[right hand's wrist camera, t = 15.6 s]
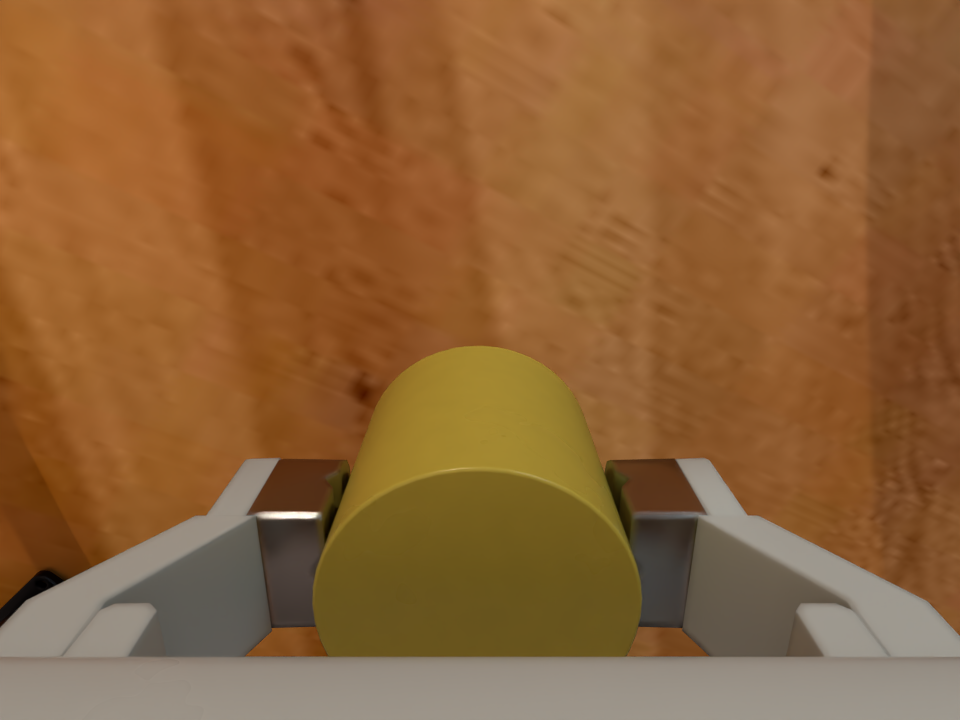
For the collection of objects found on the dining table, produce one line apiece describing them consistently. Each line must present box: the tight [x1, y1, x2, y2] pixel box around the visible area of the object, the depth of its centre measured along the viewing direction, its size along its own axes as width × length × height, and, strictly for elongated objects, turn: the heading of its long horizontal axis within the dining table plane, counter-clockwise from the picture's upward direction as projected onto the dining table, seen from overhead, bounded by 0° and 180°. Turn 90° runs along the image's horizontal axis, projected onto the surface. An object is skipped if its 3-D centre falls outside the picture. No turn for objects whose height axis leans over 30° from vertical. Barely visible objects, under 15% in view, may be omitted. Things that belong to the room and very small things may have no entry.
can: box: [312, 346, 642, 657], centre depth 10 cm, size 4×4×4 cm
